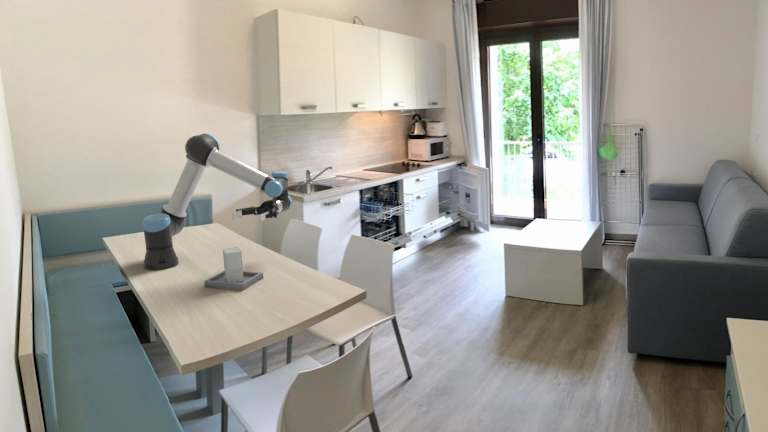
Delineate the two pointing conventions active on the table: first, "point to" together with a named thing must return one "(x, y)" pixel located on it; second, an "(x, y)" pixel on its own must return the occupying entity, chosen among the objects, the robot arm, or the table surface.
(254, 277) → the tray
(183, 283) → the table surface
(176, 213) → the robot arm
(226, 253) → the small box
